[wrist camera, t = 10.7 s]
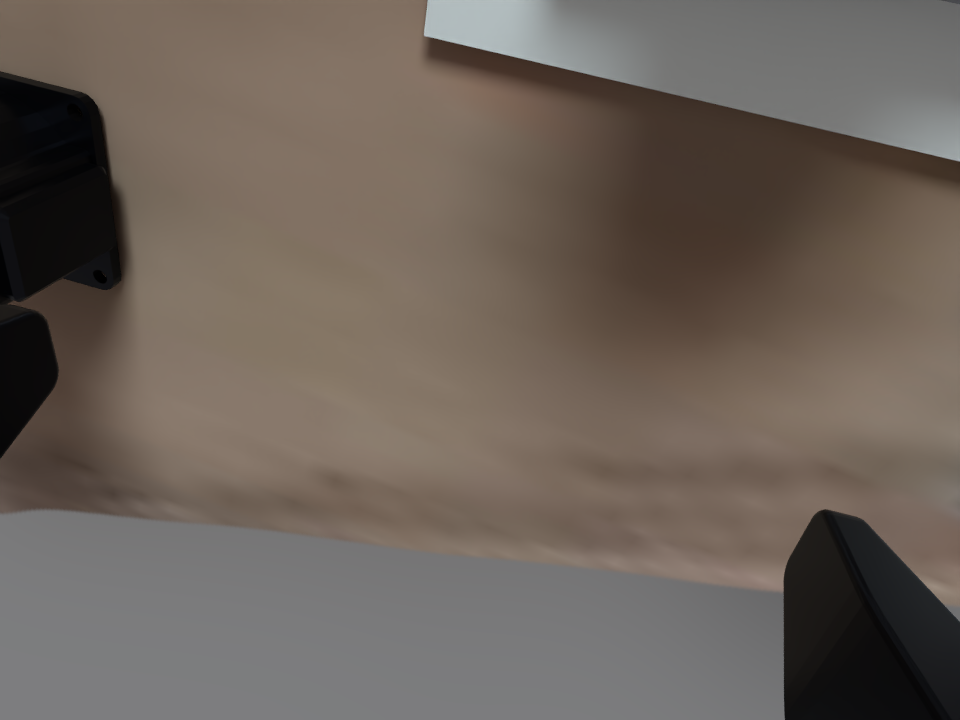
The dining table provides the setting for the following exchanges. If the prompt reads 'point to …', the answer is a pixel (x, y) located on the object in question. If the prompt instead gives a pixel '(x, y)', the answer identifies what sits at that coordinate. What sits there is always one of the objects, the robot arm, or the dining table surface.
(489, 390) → the dining table surface
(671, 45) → the collar plate
